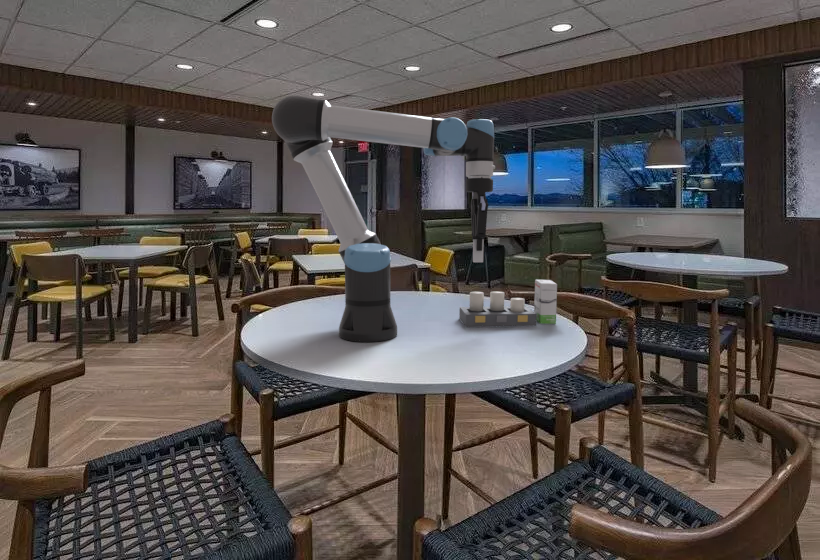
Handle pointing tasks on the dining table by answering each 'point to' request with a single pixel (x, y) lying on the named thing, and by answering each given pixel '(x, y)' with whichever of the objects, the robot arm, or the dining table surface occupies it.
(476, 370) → the dining table surface
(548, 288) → the ink box
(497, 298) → the button mid
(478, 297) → the button left
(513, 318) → the console
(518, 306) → the button right
